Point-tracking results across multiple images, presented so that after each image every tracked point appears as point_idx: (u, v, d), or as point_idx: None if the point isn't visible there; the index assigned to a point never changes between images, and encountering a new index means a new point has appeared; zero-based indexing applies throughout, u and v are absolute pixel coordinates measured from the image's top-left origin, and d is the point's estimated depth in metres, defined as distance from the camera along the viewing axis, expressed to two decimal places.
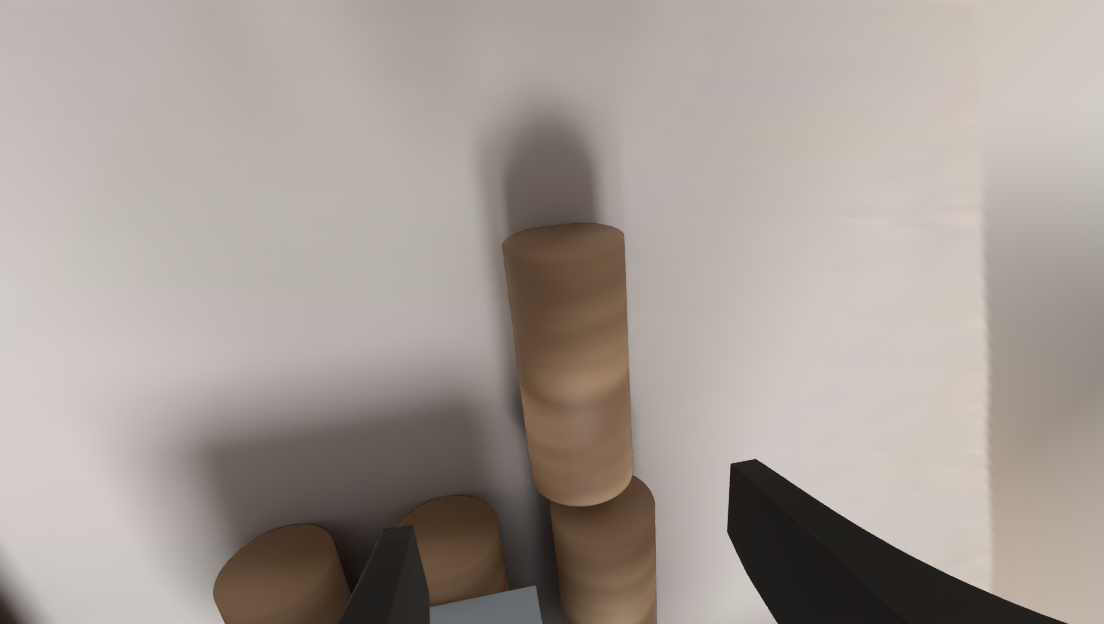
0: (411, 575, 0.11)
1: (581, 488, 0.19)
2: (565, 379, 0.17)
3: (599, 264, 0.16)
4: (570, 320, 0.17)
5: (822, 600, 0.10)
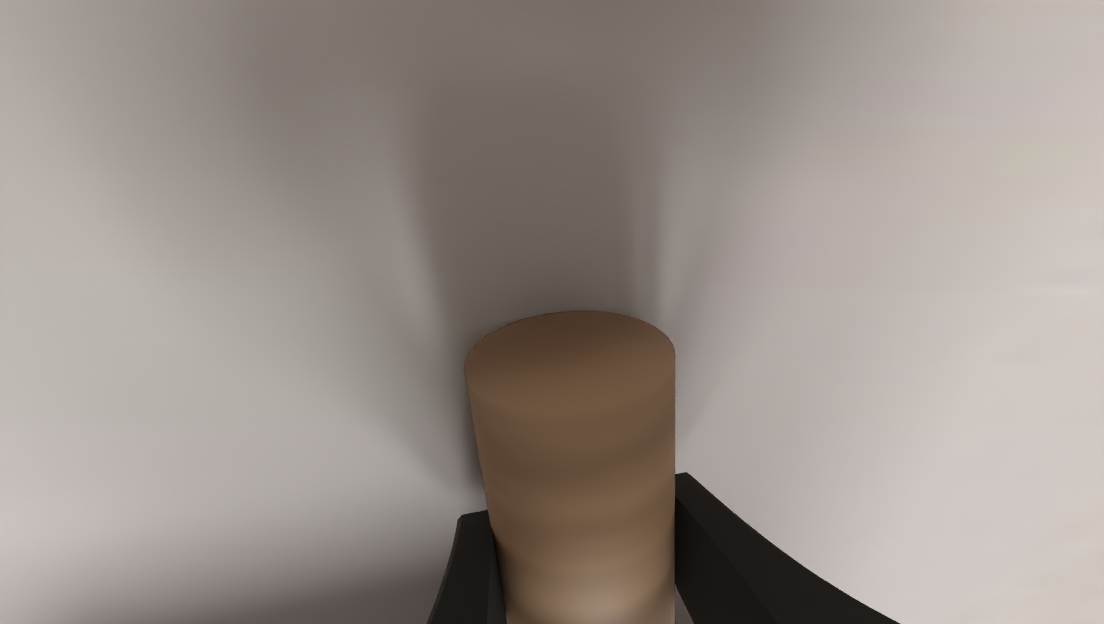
0: (495, 558, 0.11)
1: None
2: (524, 582, 0.10)
3: (581, 432, 0.09)
4: (527, 505, 0.09)
5: (734, 620, 0.10)
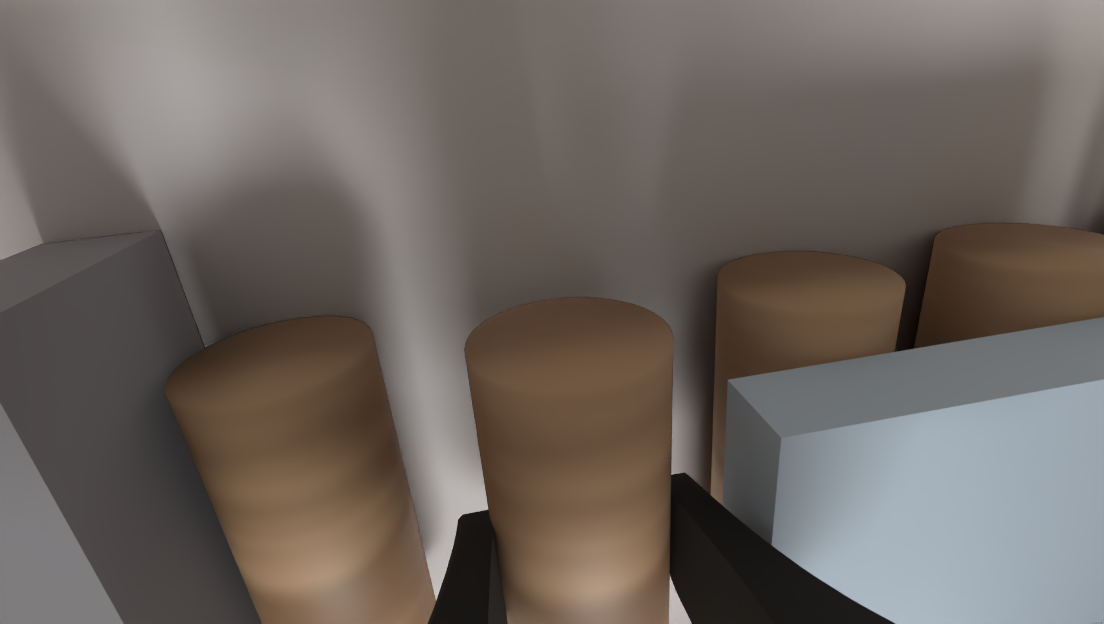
0: (496, 558, 0.11)
1: None
2: (518, 561, 0.11)
3: (574, 412, 0.09)
4: (522, 484, 0.10)
5: (732, 621, 0.10)
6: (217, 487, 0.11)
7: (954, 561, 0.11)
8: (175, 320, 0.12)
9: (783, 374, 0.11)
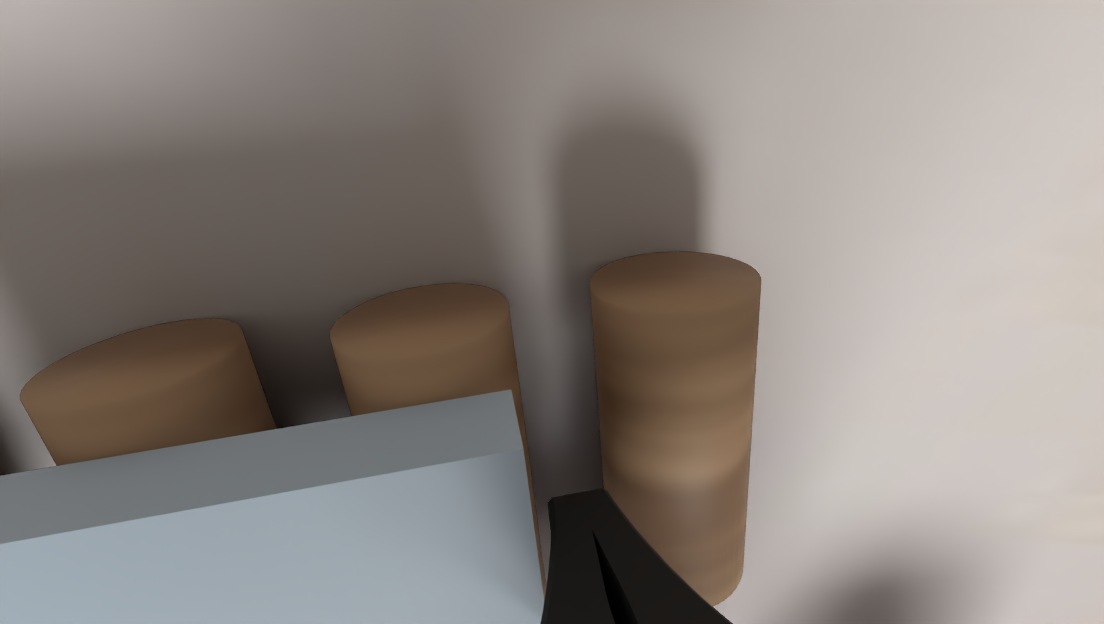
0: None
1: None
2: None
3: None
4: None
5: None
6: None
7: None
8: None
9: None
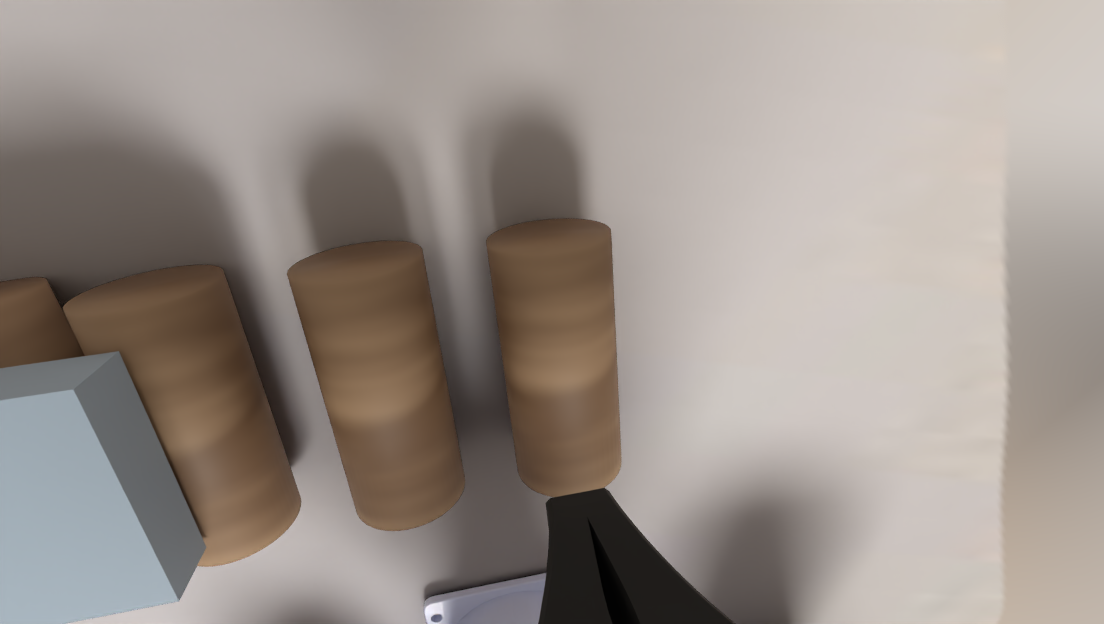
0: None
1: None
2: None
3: None
4: None
5: None
6: None
7: None
8: None
9: None
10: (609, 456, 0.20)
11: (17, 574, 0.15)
